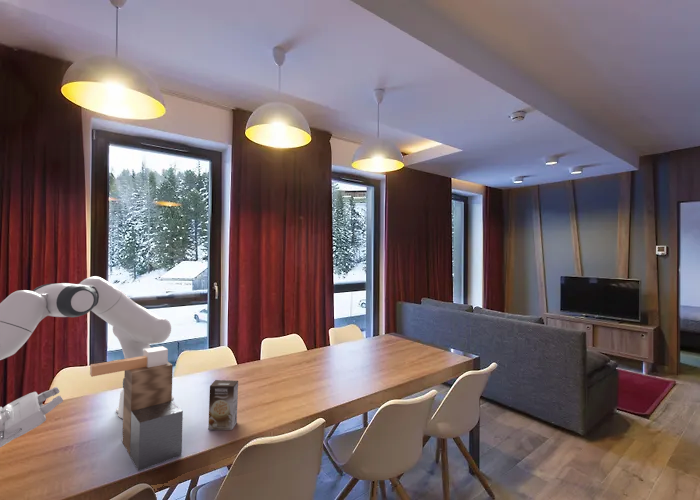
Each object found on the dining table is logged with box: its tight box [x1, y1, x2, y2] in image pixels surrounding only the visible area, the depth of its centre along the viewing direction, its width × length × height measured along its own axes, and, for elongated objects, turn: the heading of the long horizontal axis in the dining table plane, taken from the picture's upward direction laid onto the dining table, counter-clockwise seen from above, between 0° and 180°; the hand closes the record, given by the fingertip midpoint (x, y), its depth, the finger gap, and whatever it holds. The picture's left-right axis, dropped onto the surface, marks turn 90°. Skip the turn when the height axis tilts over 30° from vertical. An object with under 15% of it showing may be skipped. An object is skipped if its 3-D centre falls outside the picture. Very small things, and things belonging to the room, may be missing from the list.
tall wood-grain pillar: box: [121, 361, 174, 456], centre depth 117 cm, size 12×10×26 cm
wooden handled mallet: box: [89, 345, 169, 377], centre depth 114 cm, size 21×6×5 cm, turn 134°
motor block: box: [129, 400, 184, 472], centre depth 109 cm, size 12×10×14 cm
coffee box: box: [207, 379, 239, 431], centre depth 129 cm, size 9×6×16 cm
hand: (60, 393), depth 101 cm, fingers open, 8 cm apart
